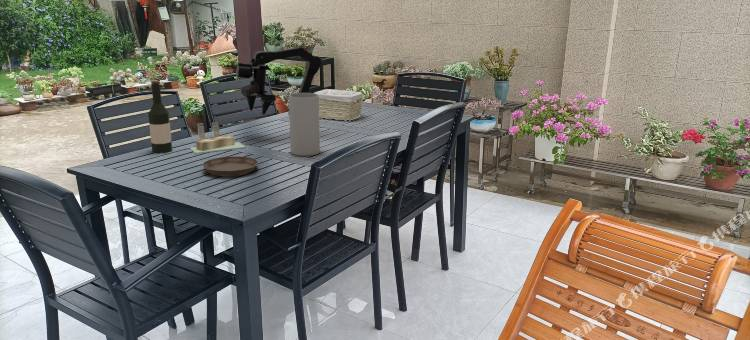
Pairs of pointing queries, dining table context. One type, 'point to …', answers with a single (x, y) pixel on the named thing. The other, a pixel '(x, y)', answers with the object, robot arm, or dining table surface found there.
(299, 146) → the cylinder vase
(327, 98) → the storage basket
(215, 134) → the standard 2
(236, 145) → the mat
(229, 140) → the beech rail
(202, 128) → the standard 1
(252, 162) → the plant saucer
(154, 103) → the wine bottle
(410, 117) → the dining table surface
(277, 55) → the robot arm
